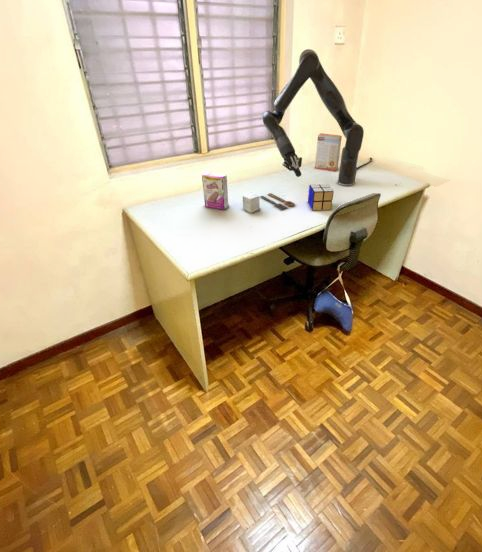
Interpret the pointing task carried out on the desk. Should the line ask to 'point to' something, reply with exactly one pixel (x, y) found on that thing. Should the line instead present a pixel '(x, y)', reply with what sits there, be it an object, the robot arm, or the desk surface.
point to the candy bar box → (215, 190)
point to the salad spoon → (287, 203)
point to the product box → (251, 202)
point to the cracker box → (328, 151)
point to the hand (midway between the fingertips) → (299, 176)
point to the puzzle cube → (320, 197)
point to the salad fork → (274, 203)
